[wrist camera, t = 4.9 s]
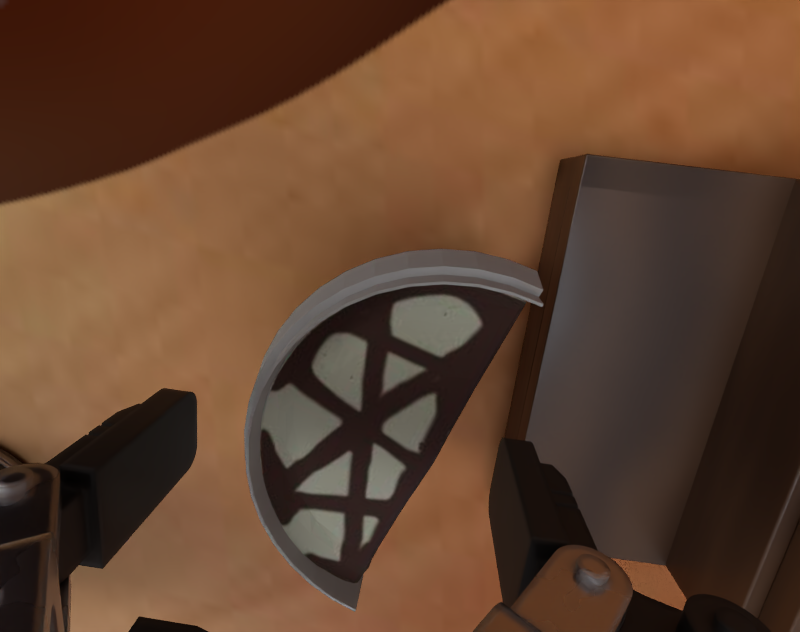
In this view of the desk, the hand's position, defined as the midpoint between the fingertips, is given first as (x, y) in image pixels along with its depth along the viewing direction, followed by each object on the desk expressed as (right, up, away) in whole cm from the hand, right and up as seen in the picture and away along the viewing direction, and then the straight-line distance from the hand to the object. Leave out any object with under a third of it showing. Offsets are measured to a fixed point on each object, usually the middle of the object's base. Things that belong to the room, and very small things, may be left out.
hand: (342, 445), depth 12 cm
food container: (0, +3, +11) cm, 11 cm away
